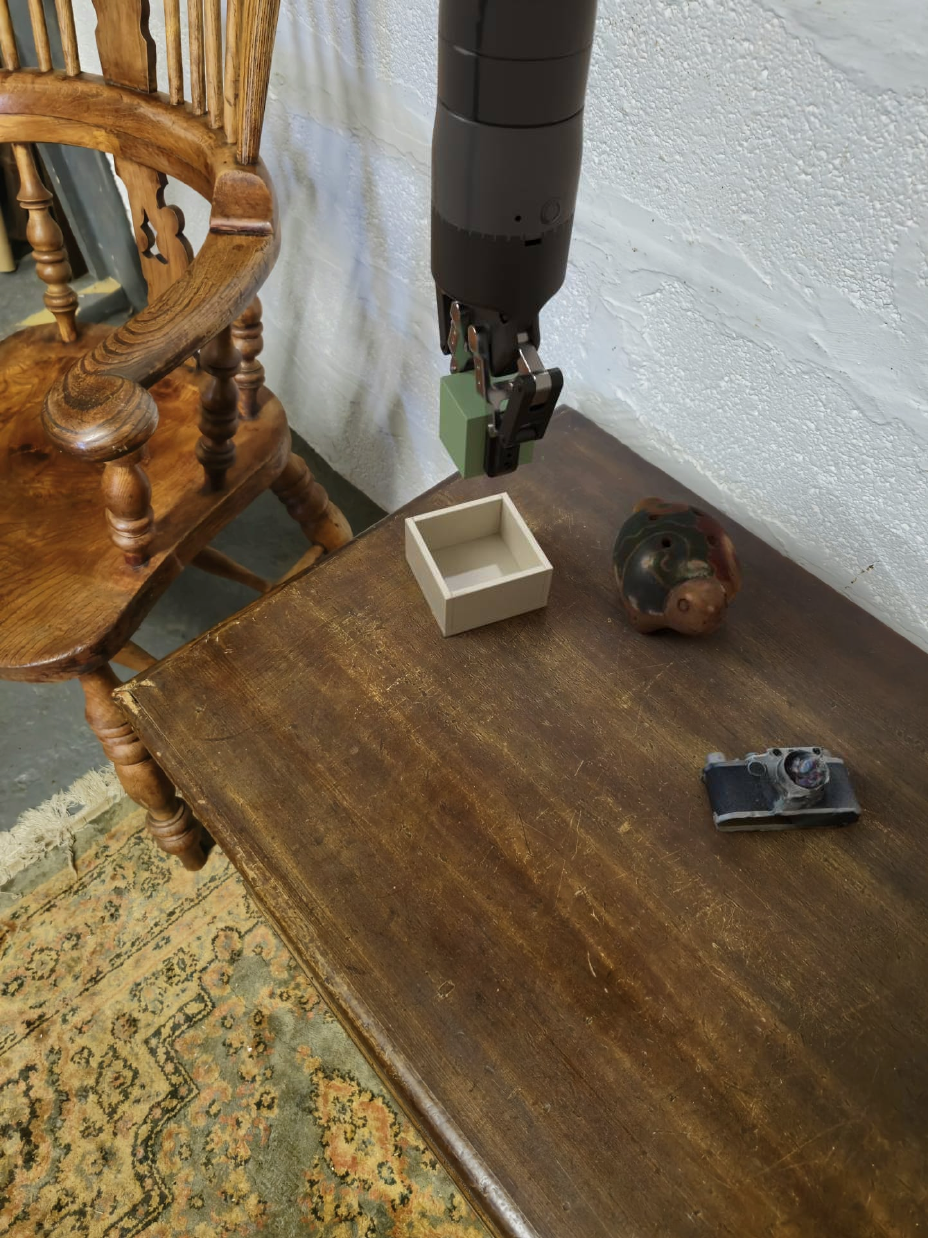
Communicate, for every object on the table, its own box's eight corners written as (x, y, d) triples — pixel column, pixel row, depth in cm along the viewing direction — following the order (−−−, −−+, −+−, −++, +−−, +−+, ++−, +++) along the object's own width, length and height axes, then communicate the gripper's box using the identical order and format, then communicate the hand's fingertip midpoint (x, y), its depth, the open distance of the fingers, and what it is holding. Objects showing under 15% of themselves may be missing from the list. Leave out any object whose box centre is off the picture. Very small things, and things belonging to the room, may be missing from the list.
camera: (690, 764, 59) (707, 733, 56) (834, 760, 60) (859, 730, 56) (706, 832, 56) (725, 805, 52) (858, 828, 56) (886, 801, 53)
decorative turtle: (639, 687, 63) (655, 617, 57) (580, 547, 72) (588, 474, 66) (763, 665, 64) (791, 593, 58) (688, 530, 73) (705, 456, 67)
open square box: (444, 637, 65) (445, 600, 61) (405, 557, 70) (404, 518, 66) (546, 606, 67) (553, 568, 63) (502, 531, 72) (506, 491, 68)
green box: (463, 480, 55) (466, 419, 51) (438, 437, 58) (439, 376, 54) (532, 462, 57) (540, 402, 53) (505, 421, 59) (511, 360, 55)
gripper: (388, 142, 46) (396, 396, 60) (492, 277, 39) (474, 534, 52) (512, 124, 48) (493, 374, 62) (635, 249, 41) (582, 504, 54)
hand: (484, 446), depth 57 cm, fingers closed on green box, 4 cm apart
